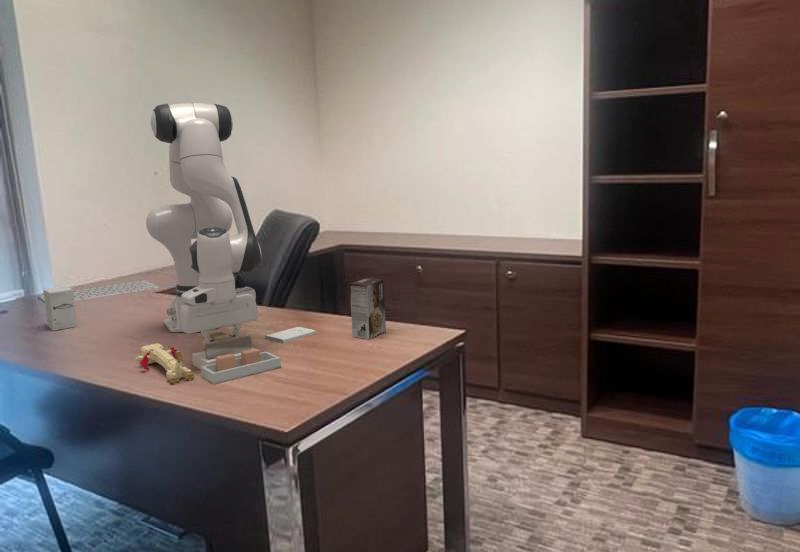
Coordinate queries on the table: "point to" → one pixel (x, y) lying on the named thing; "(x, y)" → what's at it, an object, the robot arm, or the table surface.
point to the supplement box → (60, 308)
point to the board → (201, 360)
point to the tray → (241, 368)
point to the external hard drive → (290, 334)
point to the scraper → (225, 344)
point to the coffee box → (367, 308)
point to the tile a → (225, 362)
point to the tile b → (250, 356)
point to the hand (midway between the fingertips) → (222, 343)
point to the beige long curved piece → (165, 361)
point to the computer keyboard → (110, 290)
